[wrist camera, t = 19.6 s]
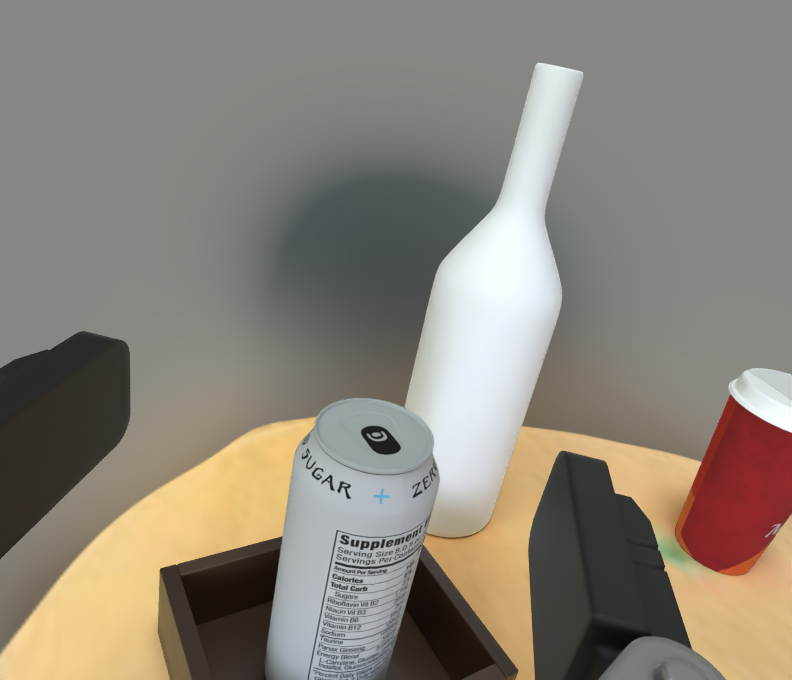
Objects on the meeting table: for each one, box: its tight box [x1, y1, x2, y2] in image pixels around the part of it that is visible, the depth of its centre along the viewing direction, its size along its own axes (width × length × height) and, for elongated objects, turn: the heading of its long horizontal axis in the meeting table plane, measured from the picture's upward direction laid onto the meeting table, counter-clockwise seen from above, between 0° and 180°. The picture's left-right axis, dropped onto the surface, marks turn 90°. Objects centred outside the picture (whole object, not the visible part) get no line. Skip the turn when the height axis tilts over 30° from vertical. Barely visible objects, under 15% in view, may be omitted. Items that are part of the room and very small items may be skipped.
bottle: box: [405, 63, 583, 538], centre depth 39 cm, size 8×8×30 cm
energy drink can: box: [265, 398, 440, 680], centre depth 27 cm, size 6×6×15 cm
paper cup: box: [675, 368, 792, 575], centre depth 43 cm, size 8×8×14 cm
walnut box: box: [158, 536, 518, 680], centre depth 30 cm, size 14×12×5 cm
